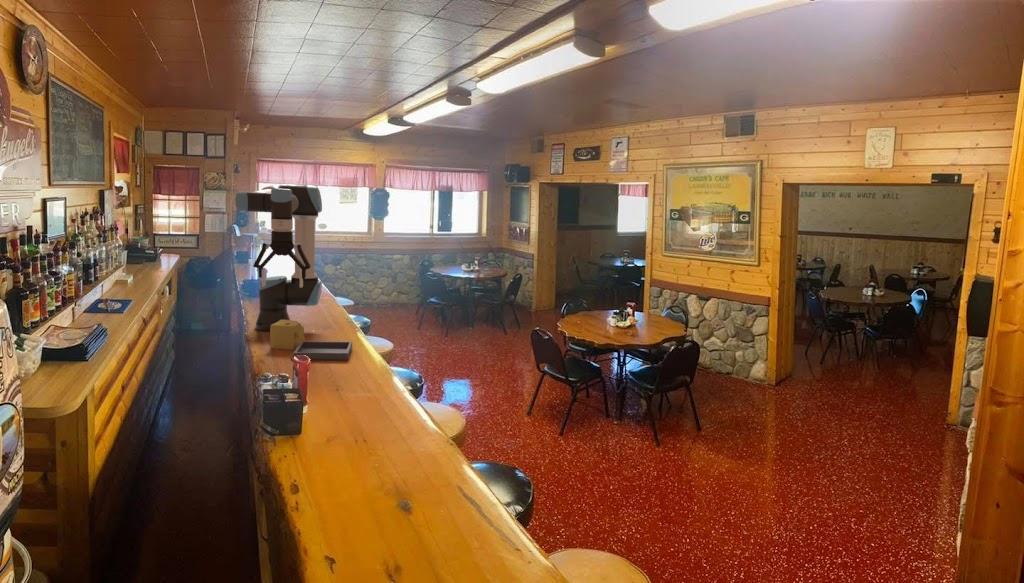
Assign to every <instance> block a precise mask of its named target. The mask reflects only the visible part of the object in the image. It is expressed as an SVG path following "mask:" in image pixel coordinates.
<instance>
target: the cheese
mask: <svg viewBox="0 0 1024 583" xmlns="http://www.w3.org/2000/svg"><path fill="white" fill-rule="evenodd" d="M304 333H305V328H304V326H303V325H302V323H300V322H298V321H297V320H291V319H290V320H280V321H278V322H276V323H274V324H272V325H271V327H270V331H269V338H270V339H269V342H270V349H274V350H275V349H278V350H290V351H295V350H296V348H297V347H298V345H299V344H300V343H301V341H306V336H305V335H304Z"/></svg>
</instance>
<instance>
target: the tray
mask: <svg viewBox="0 0 1024 583" xmlns="http://www.w3.org/2000/svg"><path fill="white" fill-rule="evenodd" d="M352 350H353V341H341V340H340V341H338V340H337V341H336V340H335V341H330V340H329V341H328V340H327V341H325V340H324V341H323V340H321V341H320V340H305V341H301V343H300V344H299V345H298V347H297V348H296V349H295V350H293V351H294V352H293V353H292V354H293V356H296V355H306V356H308V357H309V358H310V359H311V360H313V361H319V362H321V361H323V362H324V361H325V362H327V361H330V362H333V361H334V362H339V361H340V362H341V361H342V362H344V361H346V362H348V361H349V359H350V356H351V353H352Z"/></svg>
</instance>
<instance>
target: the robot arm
mask: <svg viewBox="0 0 1024 583" xmlns="http://www.w3.org/2000/svg"><path fill="white" fill-rule="evenodd" d="M234 202H235V203H234V204H235V208H236V210H237V211H238V212H247V213H249V212H250V213H251V212H252V213H270V215H271V216H270V217H271V218H270V220H271V221H270V228H271V230H272V231H271V233H270V236H271V239H270V240H271V243H267V242H263V243H262V244H261V250H260V252H259V254H258V255H257V257H256V260H255V262H254V263H253V266H252V267H253V268H257V269H258V278H261V279H260V280H259V286H258V287H259V288H258V291H259V292H258V296H259V297H258V298H259V299H258V300H259V301H258V302H259V303H258V304H259V313H258V316H257V318H256V321H255V329H256V330H259V331H261V332H263V331H264V332H270V327H271V325H272V324H274V323H276V322H278V321H280V320H291V319H290V315H289V313H288V306H295V307H296V306H305V307H309V306H314V307H315V306H316V305H318V304H319V302H320V299H321V295H322V289H323V288H322V287H323V282H322V280H320V279H319V275H317V273H316V272H315V271H316V270H315V268H316V267H315V265H316V264H315V262H316V261H315V260H316V258H315V257H316V256H315V255H316V254H315V253H316V251H315V250H316V247H315V246H316V244H315V243H316V242H315V241H316V235H315V234H316V233H315V232H316V231H315V229H316V225H315V224H316V219H317V218H318V217H319V213H322V211H323V203H322V195H321V192H320V189H319V188H318V187H317V186H316V185H311V184H289V183H287V184H286V183H284V184H283V183H280V184H273V185H269V186H265V187H263V188H261V189H259V190H254V191H238V192H236V193H235V200H234ZM293 219H294V224H293ZM293 225H294V232H293V231H292V230H293ZM293 242H294V243H293ZM269 248H270V249H271V250H272V251H271V252H270V253H269V255H268V256H267V257H266V258H265V259H264V260H263V261H262V259H263V257H264V255H265V253H266V252H267V249H269ZM293 250H294V252H293ZM274 256H289V257H290V258H291V259H292V261H293V262H294V272H293V274H292V275H290V276H291V279H288V277H287V276H286V275H277V276H270V277H269V276H268V277H266V268H264V267H266V265H267V264H268V263H269V262H270V261H271V260H272V259H273V257H274ZM261 261H262V262H261ZM260 262H261V263H260Z"/></svg>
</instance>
